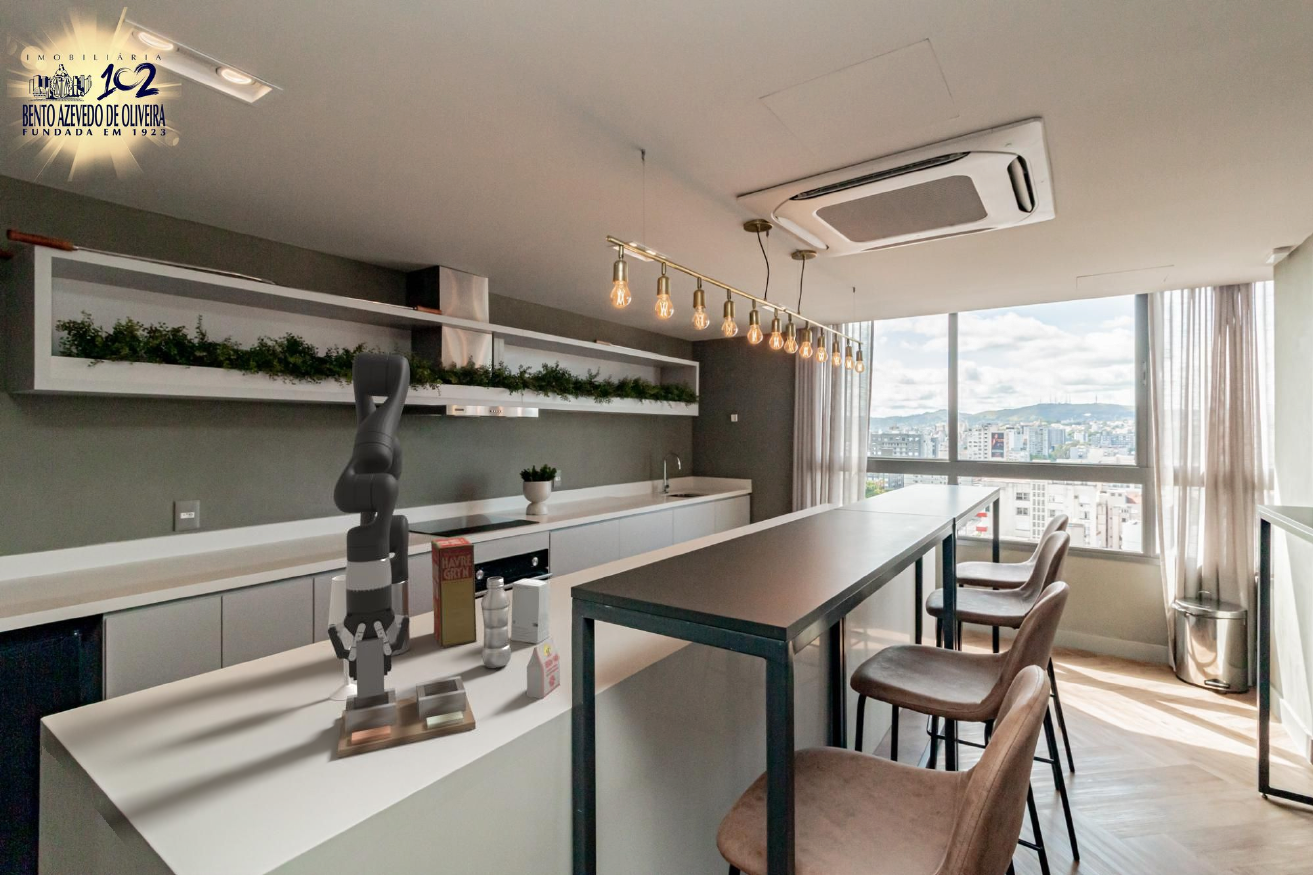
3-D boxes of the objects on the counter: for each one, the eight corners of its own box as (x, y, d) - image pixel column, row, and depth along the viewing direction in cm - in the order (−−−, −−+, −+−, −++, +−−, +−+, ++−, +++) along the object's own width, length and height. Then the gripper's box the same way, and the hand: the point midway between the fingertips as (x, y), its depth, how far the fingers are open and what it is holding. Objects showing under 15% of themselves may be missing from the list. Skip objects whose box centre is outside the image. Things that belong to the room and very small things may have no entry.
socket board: (337, 757, 99) (337, 729, 99) (342, 716, 114) (342, 691, 114) (475, 728, 109) (475, 702, 109) (463, 693, 123) (463, 670, 123)
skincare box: (510, 640, 154) (509, 583, 154) (523, 633, 160) (522, 577, 160) (539, 644, 151) (538, 585, 151) (551, 636, 157) (550, 579, 157)
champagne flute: (350, 701, 120) (347, 581, 120) (321, 699, 122) (318, 580, 121) (372, 687, 127) (370, 573, 127) (344, 685, 128) (342, 572, 128)
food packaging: (431, 632, 161) (430, 539, 161) (468, 626, 166) (466, 536, 165) (439, 648, 149) (437, 547, 149) (478, 641, 154) (476, 543, 154)
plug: (357, 698, 107) (356, 642, 107) (357, 689, 111) (356, 635, 111) (384, 693, 109) (383, 638, 109) (384, 684, 113) (382, 631, 113)
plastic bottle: (515, 660, 141) (513, 575, 141) (505, 672, 134) (503, 582, 134) (488, 659, 141) (487, 574, 141) (477, 671, 135) (475, 582, 134)
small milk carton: (527, 695, 122) (526, 646, 122) (544, 682, 128) (543, 635, 128) (543, 698, 121) (542, 648, 121) (559, 685, 127) (559, 637, 127)
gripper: (322, 592, 103) (324, 692, 104) (412, 583, 110) (414, 676, 110) (325, 583, 110) (327, 676, 110) (410, 574, 116) (411, 662, 117)
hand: (370, 675), depth 110 cm, fingers closed on plug, 4 cm apart
